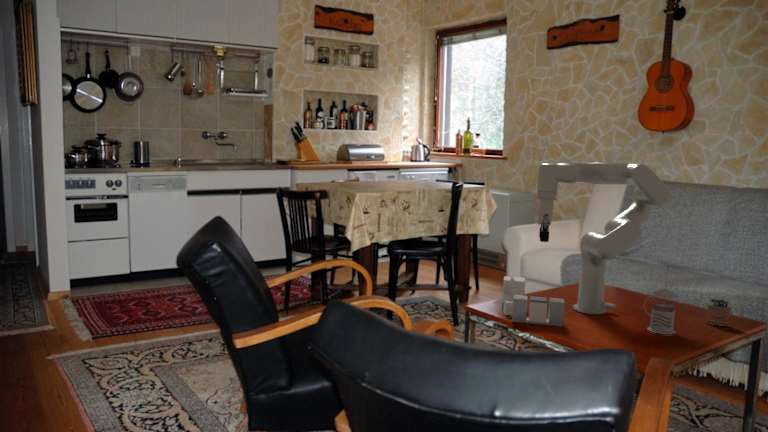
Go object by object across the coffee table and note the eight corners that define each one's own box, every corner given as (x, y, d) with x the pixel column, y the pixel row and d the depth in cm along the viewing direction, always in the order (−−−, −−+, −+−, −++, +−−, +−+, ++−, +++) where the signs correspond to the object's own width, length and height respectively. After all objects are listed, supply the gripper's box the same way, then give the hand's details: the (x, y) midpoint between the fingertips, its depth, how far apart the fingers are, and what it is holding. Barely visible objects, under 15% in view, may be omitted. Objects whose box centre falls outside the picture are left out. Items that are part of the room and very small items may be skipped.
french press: (674, 337, 225) (681, 267, 222) (639, 330, 231) (645, 262, 228) (678, 330, 233) (685, 262, 230) (644, 324, 239) (650, 258, 236)
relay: (513, 313, 248) (514, 300, 247) (516, 316, 244) (516, 303, 243) (503, 312, 248) (504, 300, 247) (505, 315, 244) (506, 302, 243)
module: (545, 318, 238) (546, 297, 237) (545, 322, 233) (547, 301, 232) (528, 317, 239) (530, 296, 238) (528, 321, 234) (530, 299, 233)
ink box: (523, 311, 251) (525, 277, 250) (501, 309, 253) (503, 275, 251) (523, 305, 260) (525, 273, 258) (502, 303, 261) (504, 271, 260)
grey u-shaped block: (561, 322, 237) (563, 298, 236) (562, 327, 231) (564, 303, 230) (512, 317, 241) (513, 294, 240) (511, 322, 235) (513, 298, 234)
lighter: (728, 325, 243) (731, 299, 242) (730, 327, 240) (733, 301, 239) (704, 322, 246) (707, 296, 245) (706, 324, 243) (709, 298, 241)
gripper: (536, 193, 256) (533, 235, 258) (537, 197, 239) (534, 242, 241) (555, 194, 254) (552, 237, 256) (558, 198, 237) (554, 244, 240)
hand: (543, 239), depth 249 cm, fingers open, 9 cm apart
